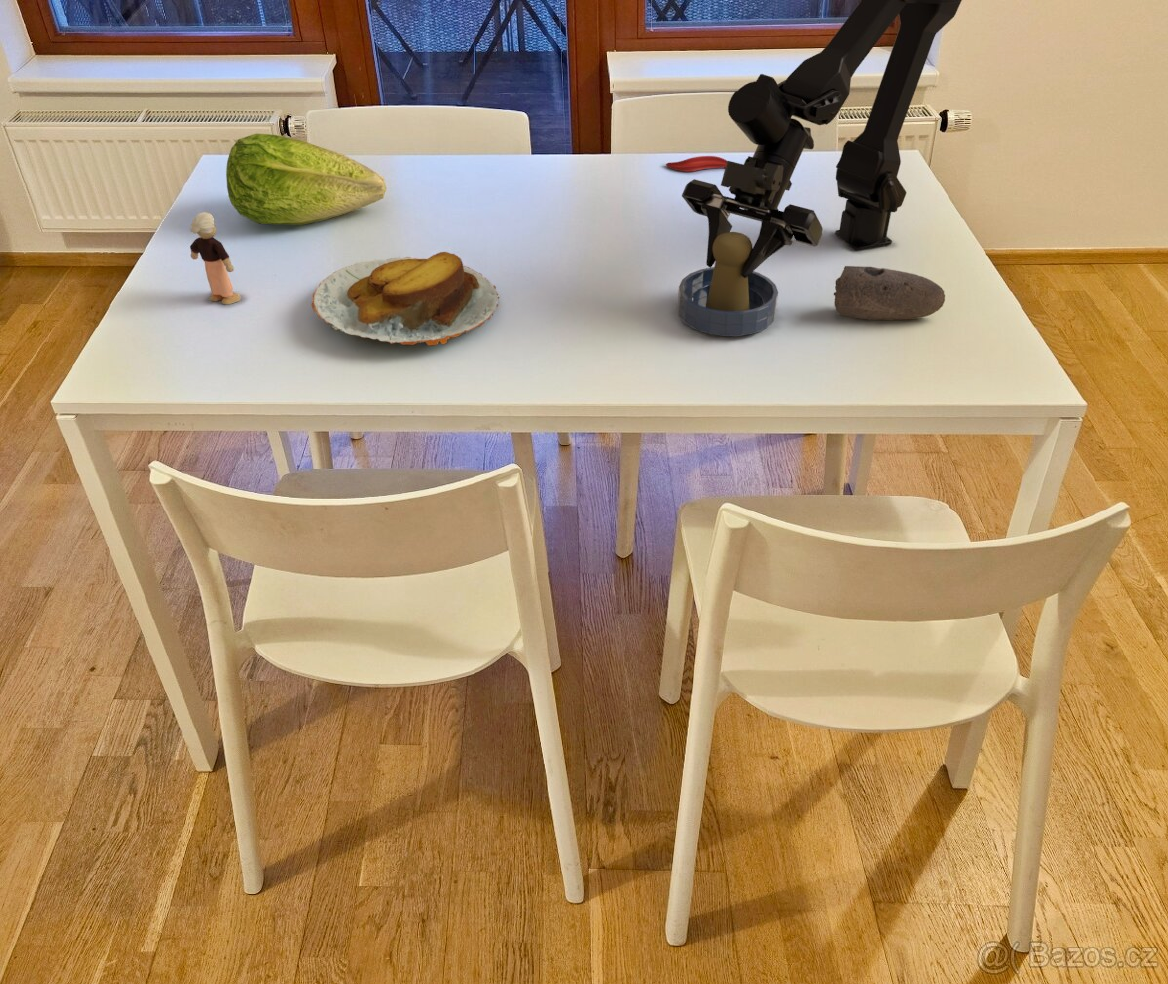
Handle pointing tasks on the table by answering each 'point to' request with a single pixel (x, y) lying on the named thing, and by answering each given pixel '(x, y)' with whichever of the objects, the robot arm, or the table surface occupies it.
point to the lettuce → (296, 181)
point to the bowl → (724, 322)
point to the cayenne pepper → (698, 163)
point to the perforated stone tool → (885, 294)
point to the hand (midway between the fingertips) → (725, 271)
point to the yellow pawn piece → (730, 273)
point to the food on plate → (406, 299)
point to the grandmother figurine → (213, 259)
